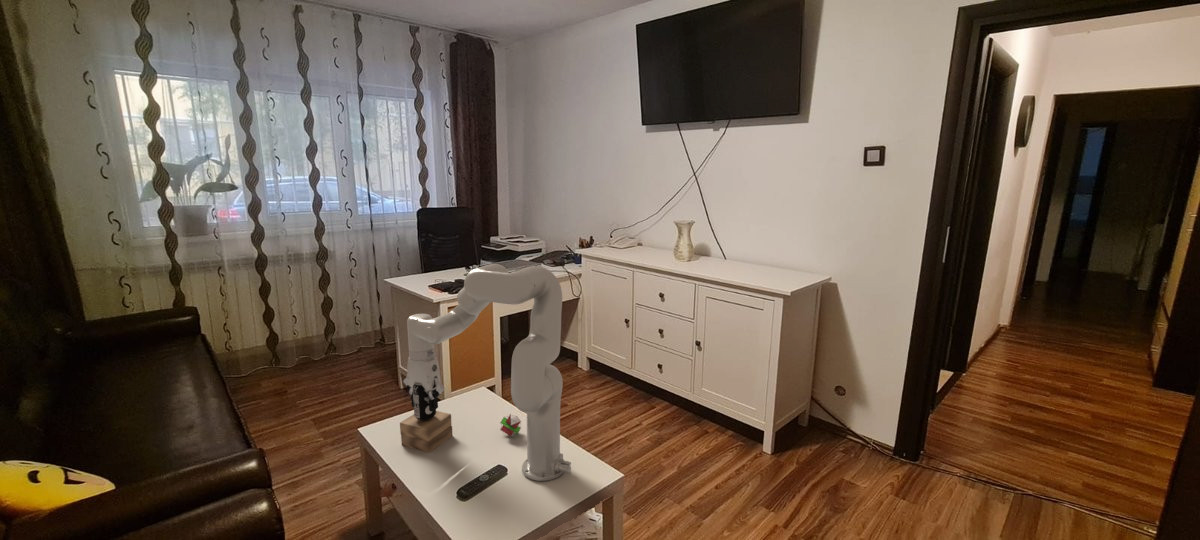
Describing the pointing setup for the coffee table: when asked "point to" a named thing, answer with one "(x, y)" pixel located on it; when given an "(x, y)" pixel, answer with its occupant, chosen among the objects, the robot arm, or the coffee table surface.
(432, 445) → the walnut block lower
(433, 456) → the coffee table surface
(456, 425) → the coffee table surface
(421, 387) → the beverage can
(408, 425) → the walnut block upper
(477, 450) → the coffee table surface
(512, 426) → the geometric puzzle
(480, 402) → the coffee table surface
